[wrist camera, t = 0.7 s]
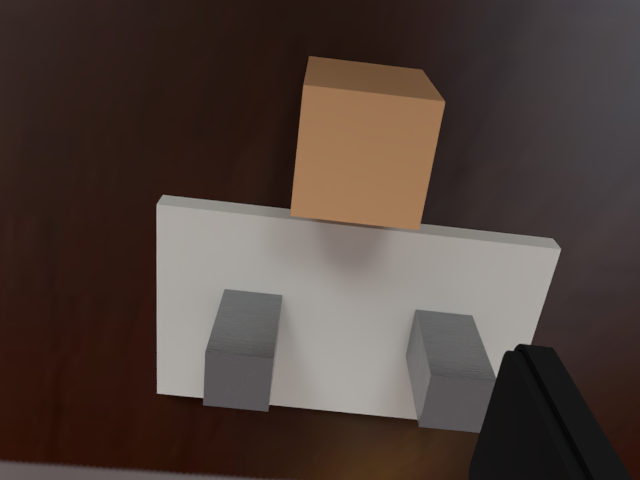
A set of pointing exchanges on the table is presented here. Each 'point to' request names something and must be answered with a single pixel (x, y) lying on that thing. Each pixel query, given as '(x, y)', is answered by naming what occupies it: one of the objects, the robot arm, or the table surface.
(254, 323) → the post
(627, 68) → the table surface
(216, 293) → the board
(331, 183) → the block
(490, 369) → the post
